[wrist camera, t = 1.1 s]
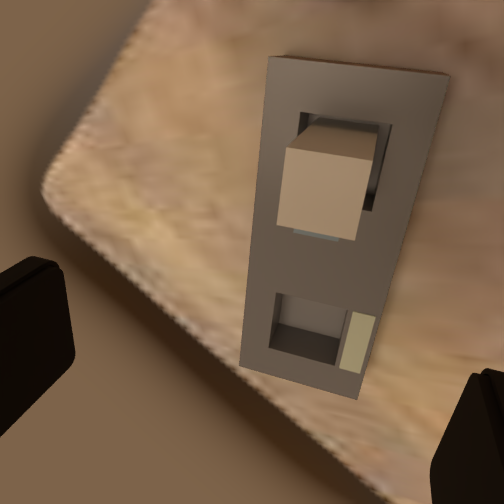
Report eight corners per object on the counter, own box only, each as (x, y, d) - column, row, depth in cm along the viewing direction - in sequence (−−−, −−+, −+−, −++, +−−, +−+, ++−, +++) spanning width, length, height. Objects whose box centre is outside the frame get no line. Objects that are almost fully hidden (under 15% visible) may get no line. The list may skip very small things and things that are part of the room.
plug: (379, 125, 27) (373, 161, 18) (364, 191, 29) (352, 251, 20) (319, 117, 28) (286, 147, 19) (308, 182, 30) (275, 235, 21)
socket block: (442, 72, 25) (450, 76, 22) (360, 366, 36) (357, 400, 33) (284, 55, 27) (268, 56, 24) (252, 337, 38) (238, 366, 35)
